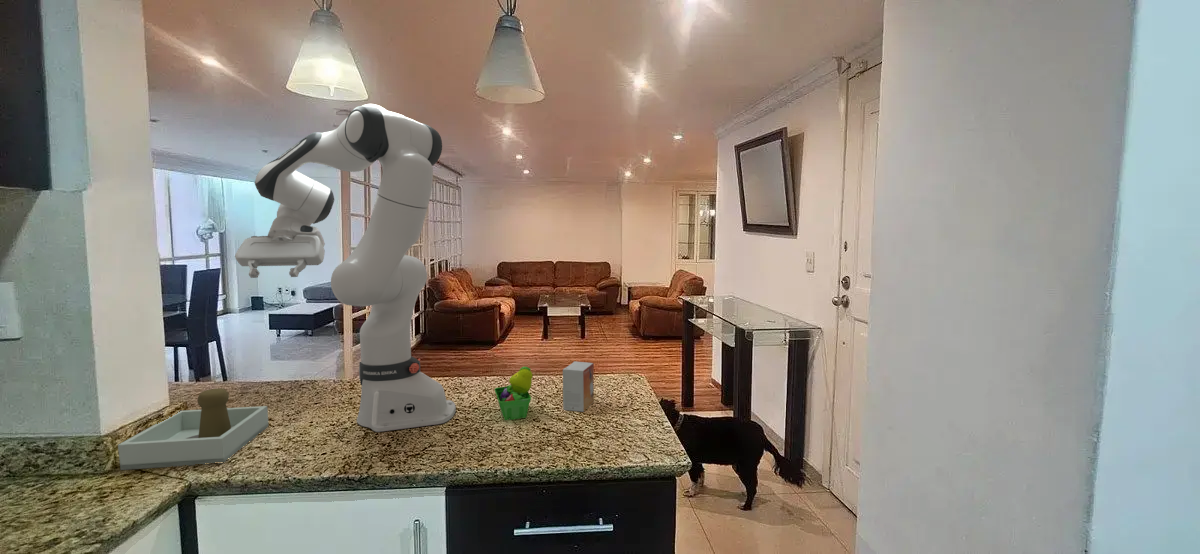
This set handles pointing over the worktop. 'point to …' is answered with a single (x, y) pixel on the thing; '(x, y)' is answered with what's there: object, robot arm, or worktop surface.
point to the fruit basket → (515, 395)
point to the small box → (578, 386)
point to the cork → (213, 413)
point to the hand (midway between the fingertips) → (273, 276)
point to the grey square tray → (190, 440)
